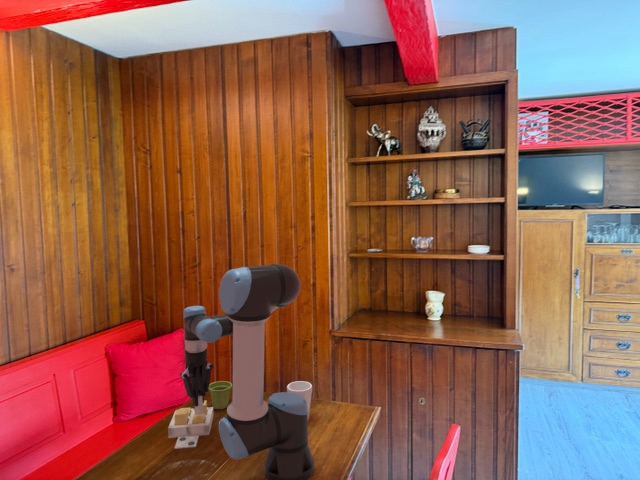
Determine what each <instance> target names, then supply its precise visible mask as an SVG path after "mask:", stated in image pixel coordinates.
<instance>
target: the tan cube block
mask: <svg viewBox="0 0 640 480" xmlns="http://www.w3.org/2000/svg"><path fill="white" fill-rule="evenodd" d="M179 409H188V416H190V415H191V409H192V407H181V408H179Z"/></svg>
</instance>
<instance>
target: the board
mask: <svg viewBox="0 0 640 480" xmlns="http://www.w3.org/2000/svg"><path fill="white" fill-rule="evenodd" d="M176 410H177V409H176ZM176 410H175V411H174V413H173V416H172V418H171V419H170V422H169V425H168V427H167V433H168V434H167V436H168V437H167V438H168V439H174V438H178V437H184V436H196V435H199V437H201V436H209V435H210V433H211V429H212V424H213V420H214V408H213V406H209V407H208V406H207V414H206V415H205V423H199V424H192V419H193V416H194V415H195V407H194V408H193V407H192V408H191V415H190V416H188V422H187V424H186V425H175V413H176ZM178 410H180V408H179V409H178Z"/></svg>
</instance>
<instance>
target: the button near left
mask: <svg viewBox="0 0 640 480" xmlns="http://www.w3.org/2000/svg"><path fill="white" fill-rule="evenodd" d="M179 409H180V408H179ZM179 409H176V413H175V412H174V413H175V425H186V424H187V422H188V409H180V410H179Z"/></svg>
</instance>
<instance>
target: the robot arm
mask: <svg viewBox="0 0 640 480" xmlns="http://www.w3.org/2000/svg"><path fill="white" fill-rule="evenodd" d="M218 291H219V292H218V299H219V301H220V302H219V304H220V305H219V306H220V307H221V310H222V311H223V312H224V314H217V315H212V316H207V313H206V312H207V311H206V307H205V306H204V305H203V306H202V305H193V306H187V307H186V308H184V309H183V317H182V319H183V330H184V332H183V333H184V348H185V349H184V350H185V354H184V355H185V362H186V363H185V364H186V367H185V370H184V371H183V372H181V373H180V374H179V376H180V377H181V378H182V381H183V384H184V388H185V393H186V395H187V397H189V398H192V405H193V407H194V408H195V414H198V415H201V414H203V403H204V401H205V396H207V395H206V394H207V393H208V392H209V391H210V390H209V385H210V384H211V383H210V382H211V375H212V370H213V368H214V364H212V363H209V361H208V360H207V359H208V349H207V348H208V343H210V344H211V343H214V342H216V341H218V340H219V339H220V338H223V337H228V336H232V401H231V402H230V403H228V406H227V407H226V417H222V418H221V419H220V420H219V422H218V432H219V438H220V440H221V444H222V446H223V448H224V450H225V452H226V453H227V455H228V456H229V458H230V459H232V460H241V459H244V458H249V456H252V455H255V454H257V453H260V452H263V451H265V450H268V451H267V455H266V459H265V461H264V475H265V477H266V478H267V480H308V479H309V478H311V477H312V476H313V474H314V471H315V461H314V457H313V454H312V452H311V449H310V446H309V434H308V433H309V431H308V430H309V427H308V425H309V423H308V422H309V419H308V416H307V414H308V410H307V402H306V400H305V399H304V398H303V397H302V396H300V395H298V394H295V393H289V392H287V391H284V392H283V391H282V392H281V391H280V392H275V393H272V394H271V395H269V397H268V399H267V402H268V403H267V402H266V401H265V400H264V380H265V379H264V376H265V335H266V334H265V332H266V331H265V329H266V326H265V325H266V322H267V321H268V320H269V319H270V318H271V313H273V312H274V311H276V310H278V308H286V306H289V305H290V304H292V303H293V302H295V300H296V299H297V297H298V296H299V295H300V292H301V280H300V277H299V275H298V273H297V272H296V270H294V269H292V268H291V267H290V266H288V265H286V264H283V263H282V264H280V263H273V264H265V265H255V266H254V265H252V266H241V267H237V268H233V269H229V270H228V271H226V272H225V274H224V275H223V276H222V278H221V281H220V285H219V289H218Z"/></svg>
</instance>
